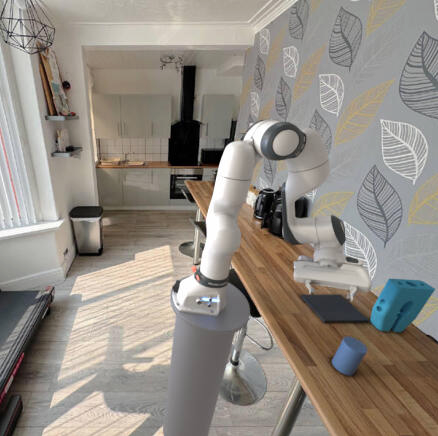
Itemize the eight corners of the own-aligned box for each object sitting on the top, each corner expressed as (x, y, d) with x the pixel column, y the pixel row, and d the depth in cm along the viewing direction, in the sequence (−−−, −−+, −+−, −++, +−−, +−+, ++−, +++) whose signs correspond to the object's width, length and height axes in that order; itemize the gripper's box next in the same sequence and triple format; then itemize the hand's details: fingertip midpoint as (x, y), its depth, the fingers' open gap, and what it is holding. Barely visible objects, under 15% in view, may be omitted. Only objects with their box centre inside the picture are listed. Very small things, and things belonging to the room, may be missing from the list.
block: (395, 321, 91) (421, 280, 83) (408, 332, 87) (437, 289, 79) (364, 319, 91) (387, 278, 83) (374, 330, 87) (400, 287, 79)
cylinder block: (341, 375, 71) (354, 353, 67) (327, 358, 76) (338, 336, 72) (358, 375, 71) (372, 353, 67) (343, 358, 76) (355, 336, 72)
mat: (324, 322, 90) (324, 320, 89) (300, 296, 102) (301, 294, 102) (368, 322, 91) (369, 320, 90) (339, 296, 103) (340, 294, 103)
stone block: (314, 266, 127) (295, 259, 129) (319, 259, 125) (299, 252, 127) (320, 279, 117) (299, 272, 119) (326, 272, 115) (304, 265, 117)
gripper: (293, 253, 86) (291, 284, 78) (369, 260, 75) (375, 298, 66) (294, 264, 90) (291, 295, 81) (366, 273, 78) (371, 310, 70)
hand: (329, 296), depth 74 cm, fingers open, 8 cm apart
